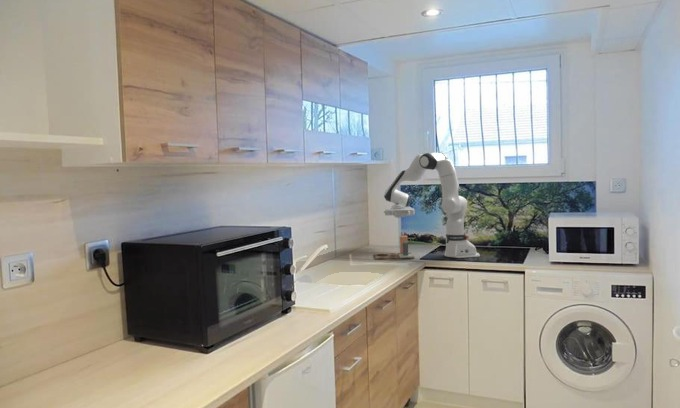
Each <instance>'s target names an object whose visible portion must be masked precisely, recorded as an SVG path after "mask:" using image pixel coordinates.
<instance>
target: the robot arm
mask: <svg viewBox="0 0 680 408" xmlns="http://www.w3.org/2000/svg"><path fill="white" fill-rule="evenodd" d="M427 170H431V171H432V170H436V171H437V172H438V177H439V181H440V186H441V189H442V190H441V191H442V192H441V195H442V200H441V201H442V202H441V210H442V211H443V212H445V213H446V214H448V216H447V220H446V222H445V225H446V228H445V230H446V234H445V251H444V256H445V257H448V258H456V259H461V258H463V259H465V258H479V257H480V256H481V255H480V253H479V252H477V248H476V246H475V245H474V244H473V243H471V242H470V241H469V240H468V239H469V238H470V237H469V235H467V234H465V226H464V223H465V217H466V210H467V207H468V200H467V199H466V198H465V196H462V195H459V188H460V184H459V179H458V175H457V171H456V167H455V166H454V163H453V161H452V160H451V159H449V158H448V156H447V154H445V153H444V152H433V151H432V152H426V153H419V154H416V156H415V157H414V159H412V162H411V163H410V165H409V167H408V168H407V169H405V170H402V171H400V173H399V174H398V175H397V176H396V178H395V179H394V180H393V181H392V183H391V185H389V186H388V188H387V189H386V190H385V192H384V194H383V197H384V199H385V200H386V202H389V203H392V204H393V205H392V206H391V207H390V209H385V210H384V211H383V213H384V215H385V216H393V217H394V218H397V219H400V218H404V217H410V216H411V217H412V216H414V215H416V214H415V209H414V208H413V207H411V206H410V203H411V197H410V195H409V194H407V193H406V192H404V191H401V190H399V189H397V188H398V187H399V185H400V184H401V183H402V182H417V181H419V180H421V179H422V178H423V176H424V175H425V173H426V172H427Z"/></svg>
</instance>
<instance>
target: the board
mask: <svg viewBox="0 0 680 408" xmlns="http://www.w3.org/2000/svg"><path fill="white" fill-rule="evenodd" d="M399 254H400V252H383V253H382V252H381V253H379V252H378V253H373V256H374V258H375V261H385V260H386V261H387V260H388V261H389V260H390V261H391V260H415V257H414V255H413V254H412V253H411V252H409V251H408V254H411V255H412V256H413V257H406V258H400V257H399Z"/></svg>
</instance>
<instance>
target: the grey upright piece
mask: <svg viewBox="0 0 680 408" xmlns="http://www.w3.org/2000/svg"><path fill="white" fill-rule="evenodd" d="M408 253H409V241H408V242H403V254H399V257H400V258H406V257H414V255H413V254H412V253H411V254H412V255H413V256H412V255H411V254H408Z"/></svg>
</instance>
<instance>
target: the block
mask: <svg viewBox="0 0 680 408" xmlns="http://www.w3.org/2000/svg"><path fill="white" fill-rule="evenodd" d="M408 237H409V236H408V235H399V253H400V254H403V242H408V243H409V241H408Z"/></svg>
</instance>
